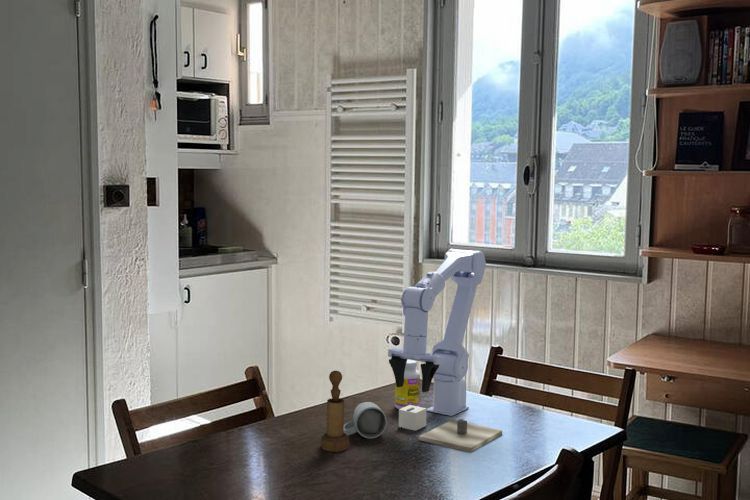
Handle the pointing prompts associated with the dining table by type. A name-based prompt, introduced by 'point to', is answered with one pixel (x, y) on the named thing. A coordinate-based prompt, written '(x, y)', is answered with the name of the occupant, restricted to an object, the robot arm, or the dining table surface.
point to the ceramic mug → (367, 421)
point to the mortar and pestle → (335, 419)
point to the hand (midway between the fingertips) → (412, 389)
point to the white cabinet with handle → (412, 417)
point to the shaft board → (461, 435)
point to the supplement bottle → (408, 387)
